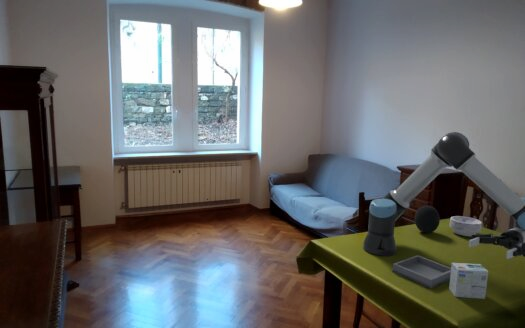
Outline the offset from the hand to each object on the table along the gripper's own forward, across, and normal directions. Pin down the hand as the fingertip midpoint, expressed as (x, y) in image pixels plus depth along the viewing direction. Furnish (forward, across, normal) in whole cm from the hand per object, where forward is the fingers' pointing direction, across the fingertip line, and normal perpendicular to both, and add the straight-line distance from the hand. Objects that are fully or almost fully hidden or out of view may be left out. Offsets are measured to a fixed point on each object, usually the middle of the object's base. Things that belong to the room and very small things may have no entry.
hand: (487, 249), depth 147 cm
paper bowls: (-55, +37, -15) cm, 68 cm away
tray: (+11, +19, -15) cm, 26 cm away
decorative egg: (-38, +49, -15) cm, 63 cm away
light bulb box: (+11, +1, -15) cm, 19 cm away
